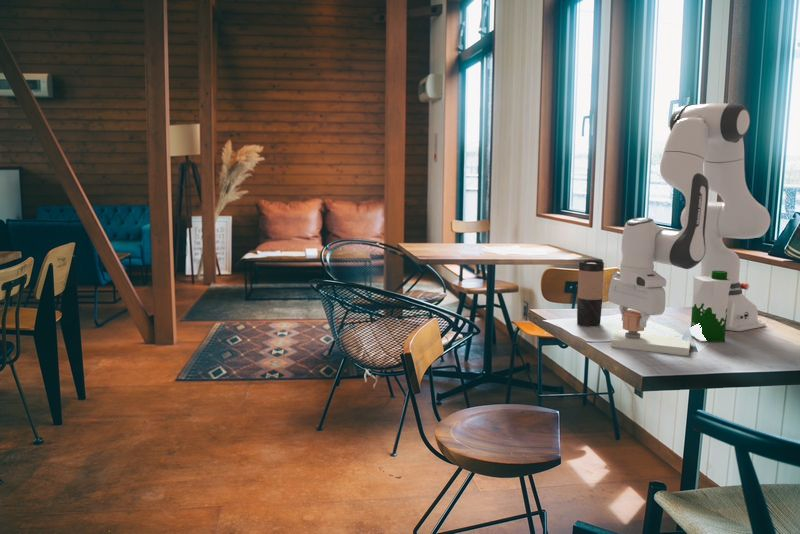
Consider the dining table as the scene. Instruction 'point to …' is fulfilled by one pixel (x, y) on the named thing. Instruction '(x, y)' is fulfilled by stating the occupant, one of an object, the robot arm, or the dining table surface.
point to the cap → (632, 320)
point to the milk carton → (711, 305)
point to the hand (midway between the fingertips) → (633, 324)
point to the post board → (650, 342)
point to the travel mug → (590, 293)
